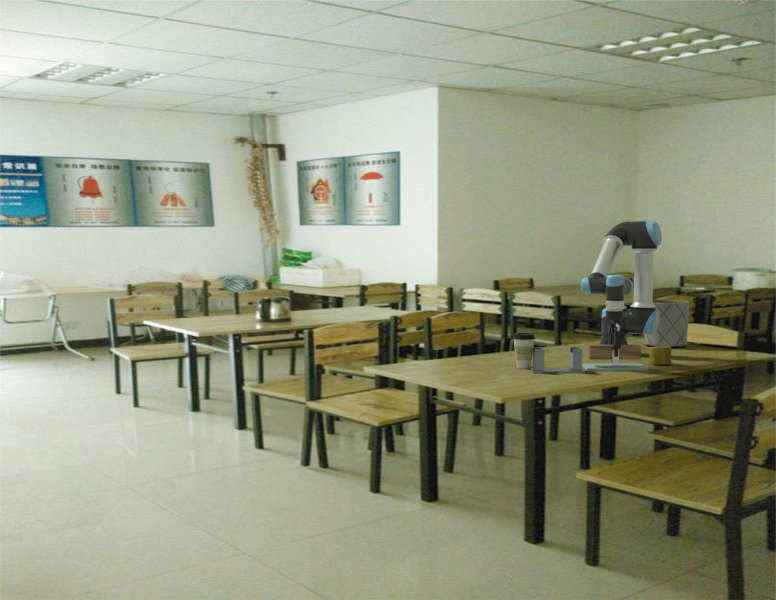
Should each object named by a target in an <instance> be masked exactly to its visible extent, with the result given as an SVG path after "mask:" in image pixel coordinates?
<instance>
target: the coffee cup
mask: <svg viewBox="0 0 776 600" xmlns="http://www.w3.org/2000/svg"><path fill="white" fill-rule="evenodd" d="M512 339H513V346H514V354H515V355H514V356H515V362H516V363H515V364H516V368H517V369H523V370H524V369H530V368H532V363H533V347H535V345H534V344H535V339H536V336H535V334H534V333H532V332H515V333H514V334H513V337H512Z"/></svg>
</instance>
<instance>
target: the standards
mask: <svg viewBox="0 0 776 600" xmlns="http://www.w3.org/2000/svg"><path fill="white" fill-rule="evenodd" d="M582 364H583V348H580V347H579V346H573V347H572V346H571V347H569V367H545V349H544V348H543V346H542V347H541V346H540V347H535V346H534V347H533V357H532V367H531V368H529V370H530V371H531V373H532V374H578V373H579V374H585V373H586V371H585V369H584V368H583V367H582Z"/></svg>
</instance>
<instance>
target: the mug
mask: <svg viewBox="0 0 776 600" xmlns="http://www.w3.org/2000/svg"><path fill="white" fill-rule="evenodd" d="M648 354H649V359H650V364H651V365H653V366H666V365H669V366H670V365H672V346H671V347H668V346H660V347H657V346H650V347H649V348H648Z"/></svg>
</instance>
